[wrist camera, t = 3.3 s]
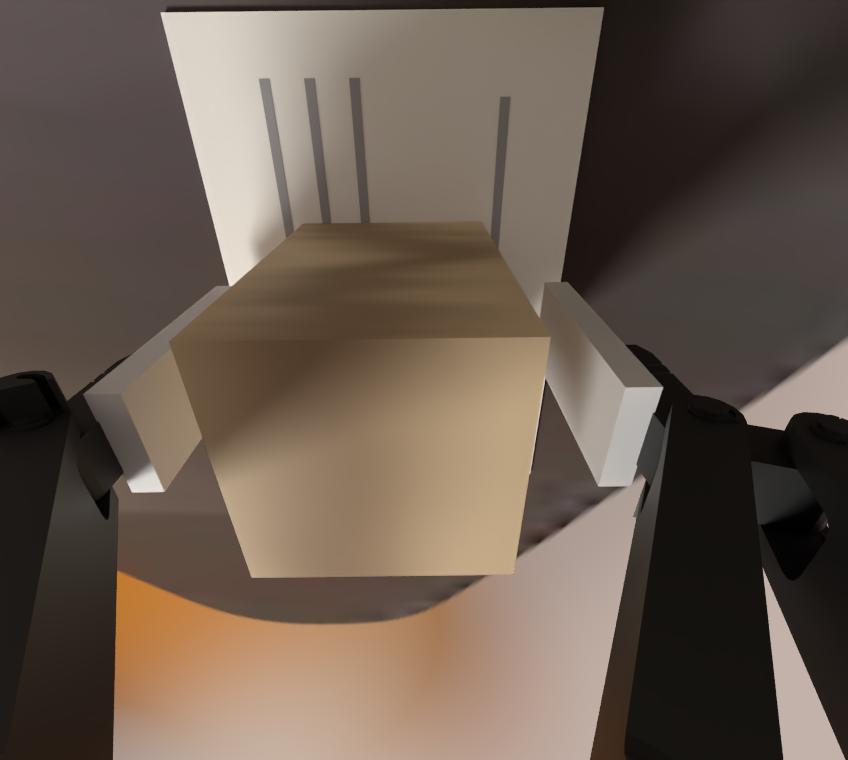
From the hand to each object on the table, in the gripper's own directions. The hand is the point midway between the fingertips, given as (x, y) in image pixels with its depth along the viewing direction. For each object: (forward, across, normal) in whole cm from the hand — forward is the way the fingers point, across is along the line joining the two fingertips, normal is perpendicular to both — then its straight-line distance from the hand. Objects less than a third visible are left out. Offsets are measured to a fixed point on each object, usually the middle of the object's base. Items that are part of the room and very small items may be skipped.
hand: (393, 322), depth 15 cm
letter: (+2, 0, 0) cm, 2 cm away
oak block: (+1, 0, 0) cm, 1 cm away
